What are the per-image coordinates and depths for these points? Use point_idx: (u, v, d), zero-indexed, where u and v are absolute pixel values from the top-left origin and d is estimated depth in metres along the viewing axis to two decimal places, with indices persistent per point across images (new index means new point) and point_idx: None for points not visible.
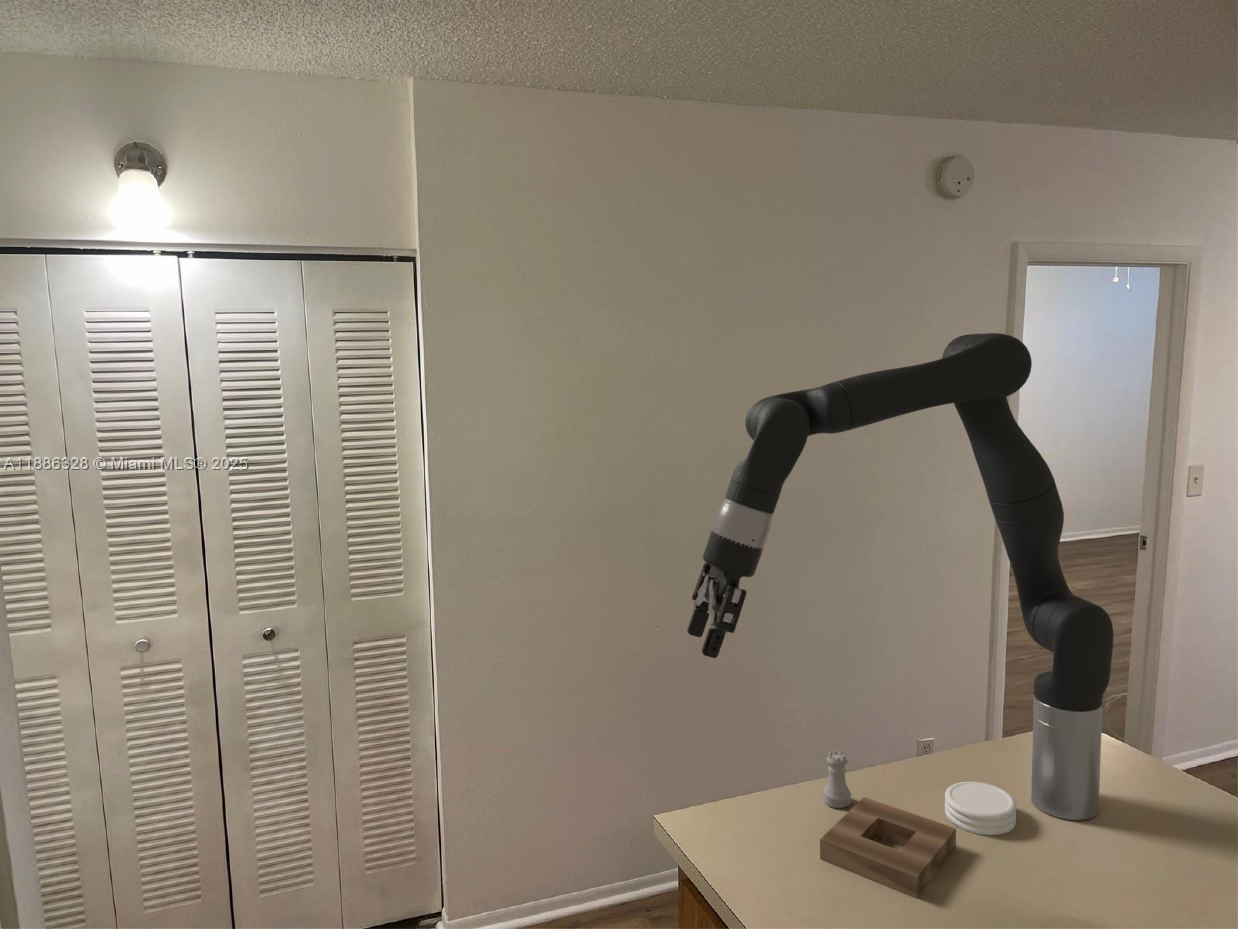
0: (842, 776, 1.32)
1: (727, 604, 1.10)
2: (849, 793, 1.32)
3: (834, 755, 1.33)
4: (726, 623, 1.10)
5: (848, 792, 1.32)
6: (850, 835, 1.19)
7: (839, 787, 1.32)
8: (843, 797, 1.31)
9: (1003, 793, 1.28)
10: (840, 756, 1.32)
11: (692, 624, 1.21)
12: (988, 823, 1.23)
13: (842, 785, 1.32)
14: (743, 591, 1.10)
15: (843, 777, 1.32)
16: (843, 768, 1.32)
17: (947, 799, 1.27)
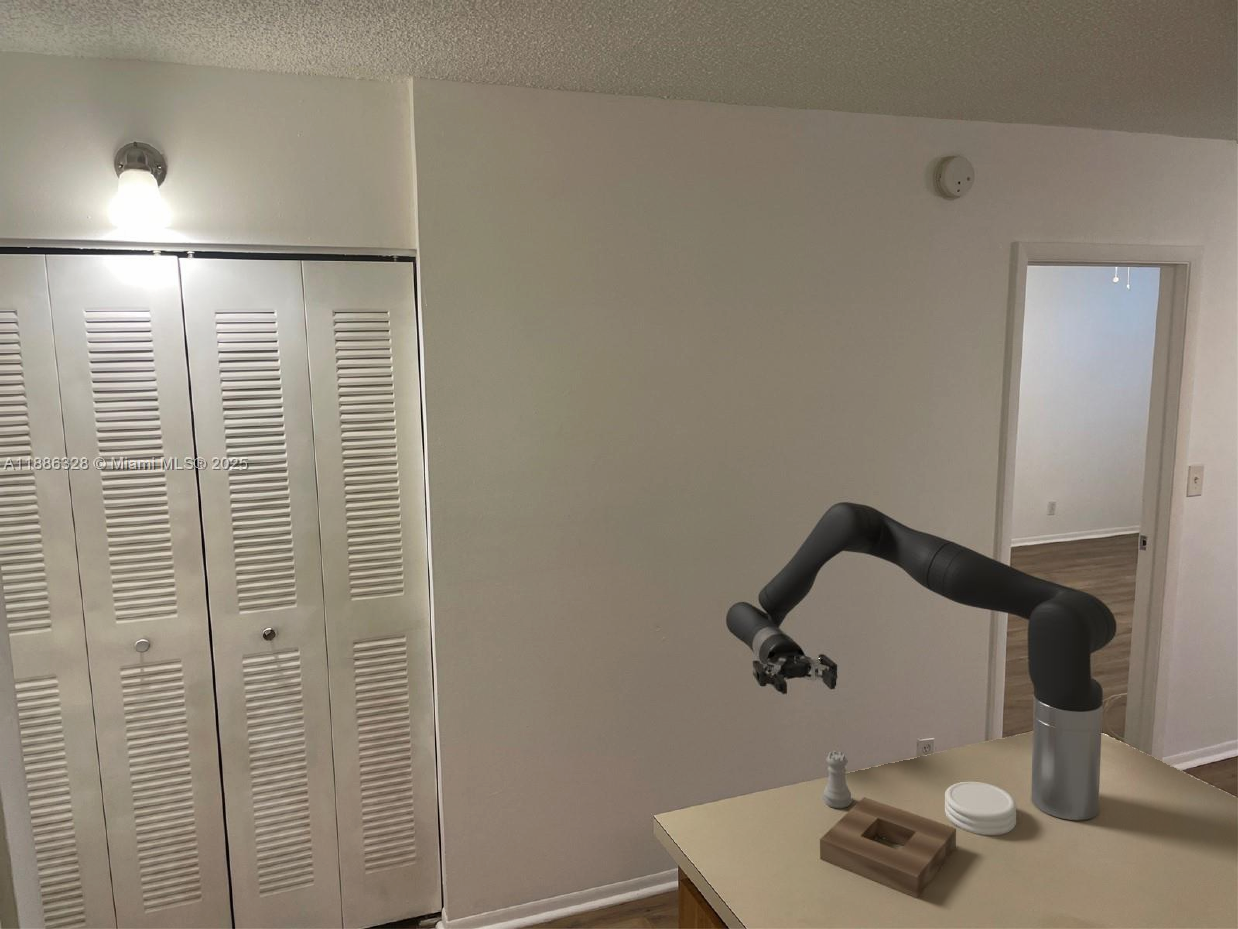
0: (842, 776, 1.32)
1: (755, 676, 1.50)
2: (849, 793, 1.32)
3: (834, 755, 1.33)
4: None
5: (848, 792, 1.32)
6: (850, 835, 1.19)
7: (839, 787, 1.32)
8: (843, 797, 1.31)
9: (1003, 793, 1.28)
10: (840, 756, 1.32)
11: (827, 685, 1.45)
12: (988, 823, 1.23)
13: (842, 785, 1.32)
14: None
15: (843, 777, 1.32)
16: (843, 768, 1.32)
17: (947, 799, 1.27)
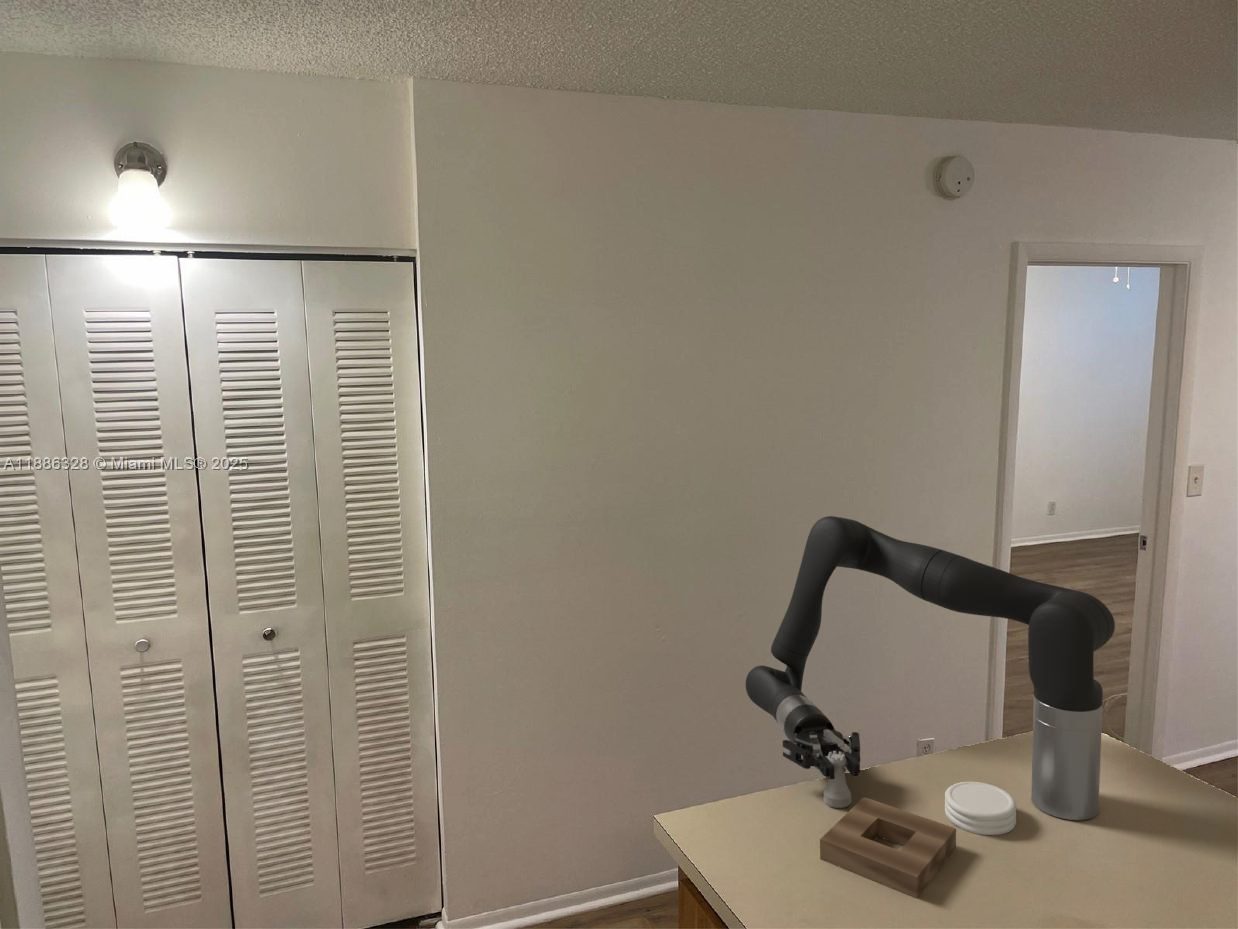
0: (842, 776, 1.32)
1: (791, 758, 1.36)
2: (849, 793, 1.32)
3: (834, 755, 1.33)
4: None
5: (848, 792, 1.32)
6: (850, 835, 1.19)
7: (839, 786, 1.32)
8: (843, 796, 1.31)
9: (1003, 793, 1.28)
10: (840, 756, 1.32)
11: (849, 771, 1.32)
12: (988, 823, 1.23)
13: (842, 784, 1.32)
14: None
15: (843, 777, 1.32)
16: (843, 768, 1.32)
17: (947, 799, 1.27)
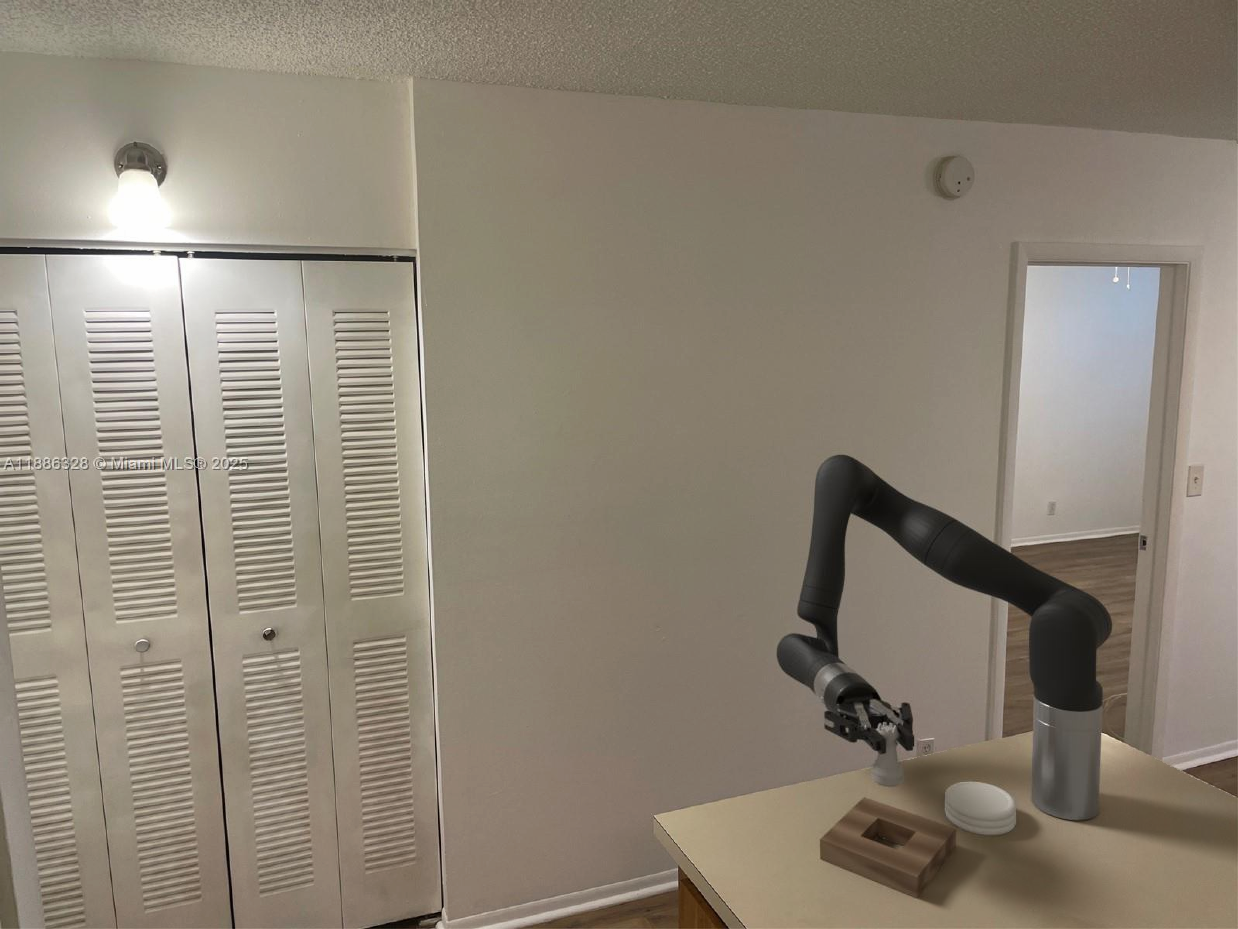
0: (894, 750, 1.16)
1: (834, 731, 1.21)
2: (901, 769, 1.17)
3: (884, 727, 1.18)
4: None
5: (900, 768, 1.17)
6: (850, 835, 1.19)
7: (891, 762, 1.16)
8: (895, 773, 1.16)
9: (1003, 793, 1.28)
10: (891, 728, 1.17)
11: (902, 745, 1.16)
12: (988, 823, 1.23)
13: (894, 760, 1.17)
14: (824, 715, 1.23)
15: (894, 752, 1.17)
16: (895, 741, 1.17)
17: (947, 799, 1.27)
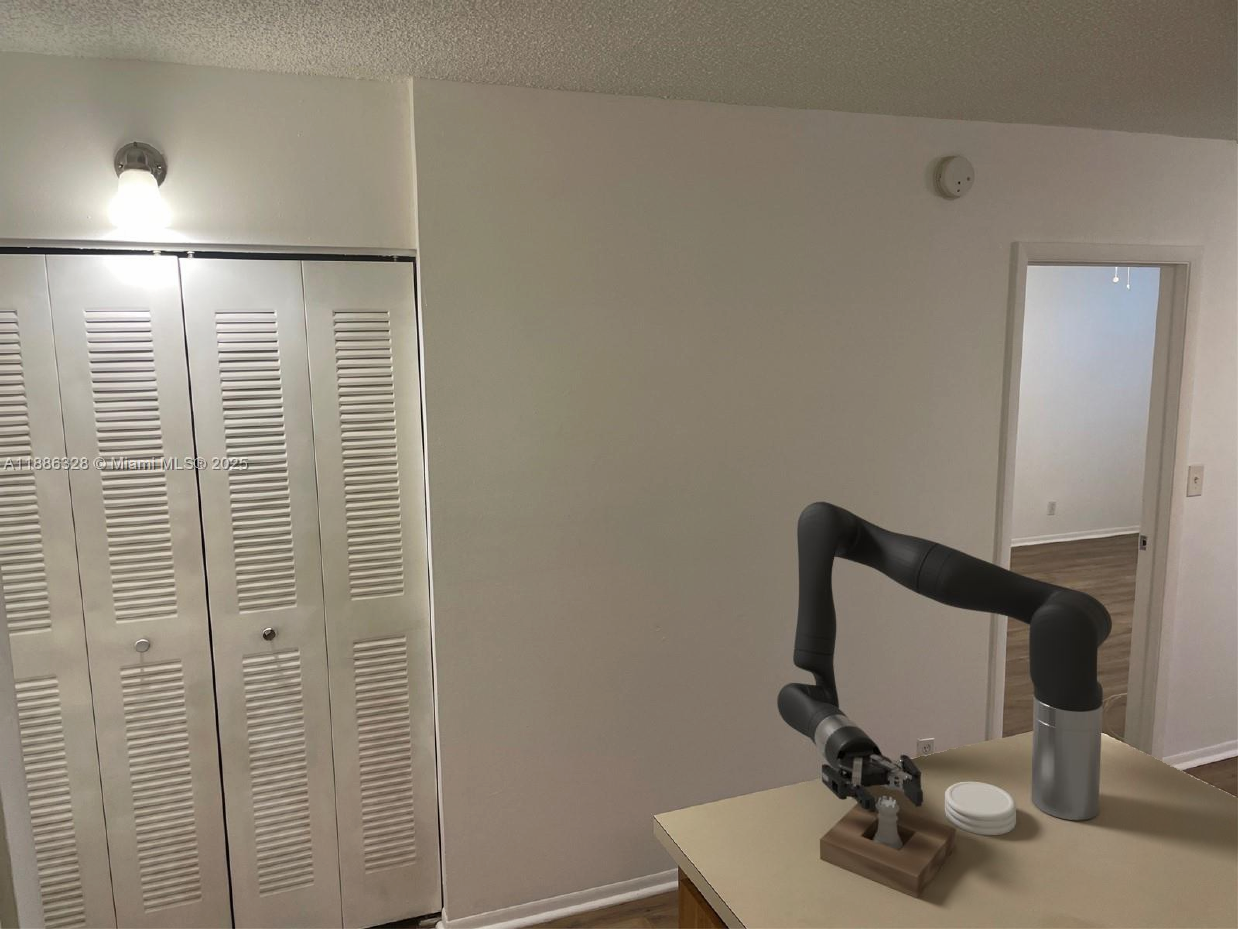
0: (894, 825, 1.18)
1: (828, 785, 1.23)
2: (901, 843, 1.19)
3: (884, 801, 1.19)
4: None
5: (900, 842, 1.19)
6: (850, 835, 1.19)
7: (891, 837, 1.18)
8: (895, 848, 1.18)
9: (1003, 793, 1.28)
10: (891, 802, 1.19)
11: (911, 800, 1.18)
12: (988, 823, 1.23)
13: (894, 834, 1.18)
14: (822, 768, 1.25)
15: (894, 826, 1.18)
16: (895, 816, 1.18)
17: (947, 799, 1.27)
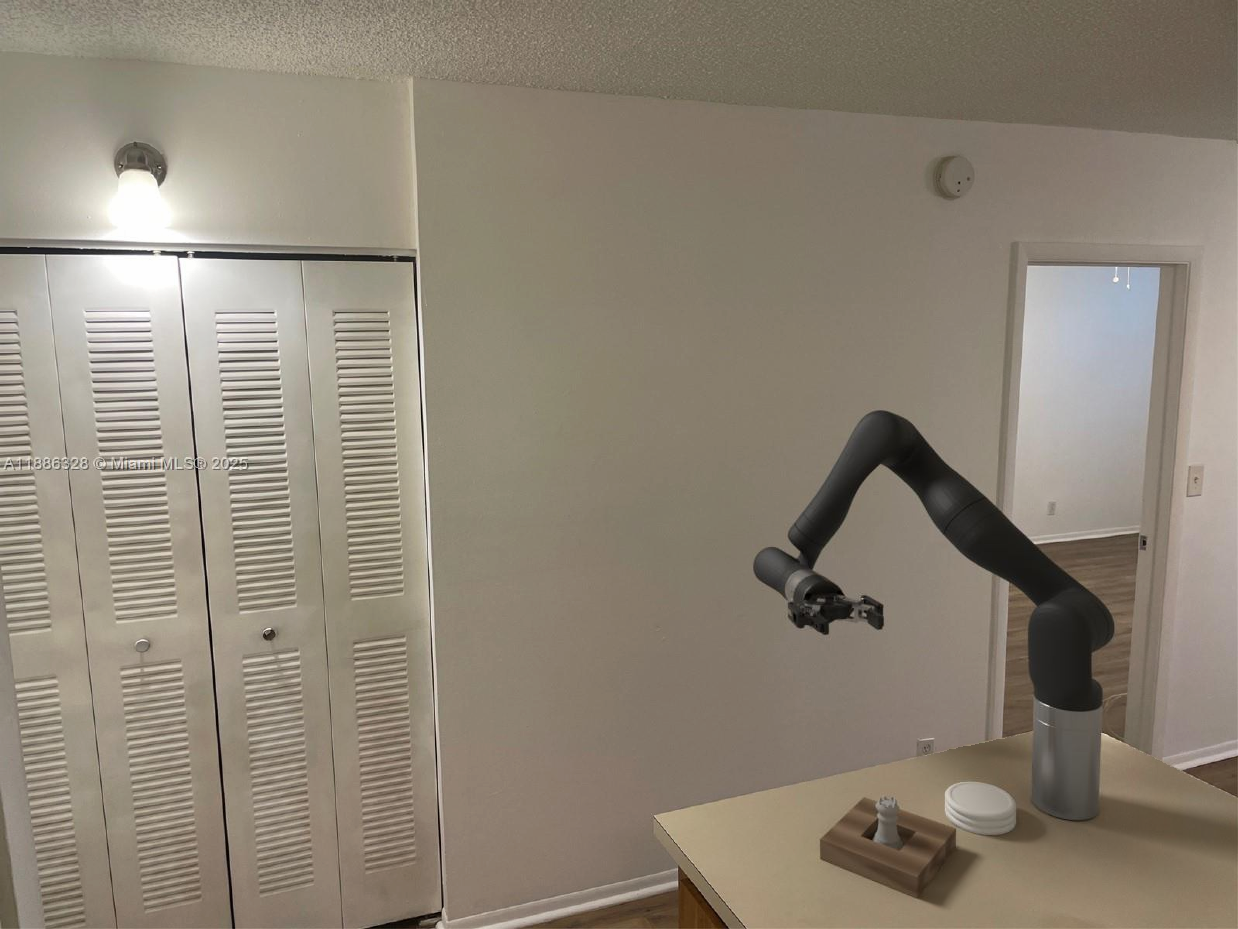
0: (894, 825, 1.18)
1: (791, 619, 1.33)
2: (901, 843, 1.19)
3: (884, 801, 1.19)
4: None
5: (900, 842, 1.19)
6: (850, 835, 1.19)
7: (891, 837, 1.18)
8: (895, 848, 1.18)
9: (1003, 793, 1.28)
10: (891, 802, 1.19)
11: (873, 625, 1.29)
12: (988, 823, 1.23)
13: (894, 834, 1.18)
14: None
15: (894, 826, 1.18)
16: (895, 816, 1.18)
17: (947, 799, 1.27)
